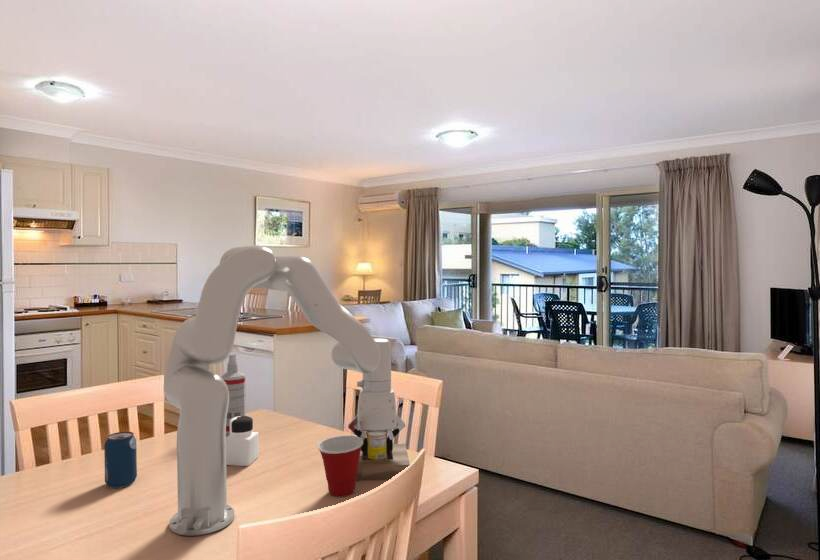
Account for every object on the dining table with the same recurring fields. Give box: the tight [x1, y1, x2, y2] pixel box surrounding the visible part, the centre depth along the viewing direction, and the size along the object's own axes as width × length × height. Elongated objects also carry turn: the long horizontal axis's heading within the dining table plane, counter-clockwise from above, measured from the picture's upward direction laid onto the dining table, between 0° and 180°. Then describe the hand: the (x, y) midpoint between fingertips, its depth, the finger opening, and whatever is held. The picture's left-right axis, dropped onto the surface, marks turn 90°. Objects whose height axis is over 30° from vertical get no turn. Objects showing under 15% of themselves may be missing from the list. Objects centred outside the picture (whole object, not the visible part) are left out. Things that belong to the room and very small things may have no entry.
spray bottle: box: [219, 353, 247, 435], centre depth 173 cm, size 8×8×25 cm
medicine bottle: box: [226, 415, 260, 467], centre depth 146 cm, size 7×7×12 cm
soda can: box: [103, 431, 138, 489], centre depth 131 cm, size 7×7×12 cm
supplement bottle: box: [366, 430, 388, 460], centre depth 141 cm, size 6×6×10 cm
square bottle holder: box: [356, 443, 411, 481], centre depth 141 cm, size 16×16×4 cm
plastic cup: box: [317, 435, 363, 498], centre depth 126 cm, size 11×11×12 cm
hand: (376, 453), depth 141 cm, fingers closed on supplement bottle, 5 cm apart
